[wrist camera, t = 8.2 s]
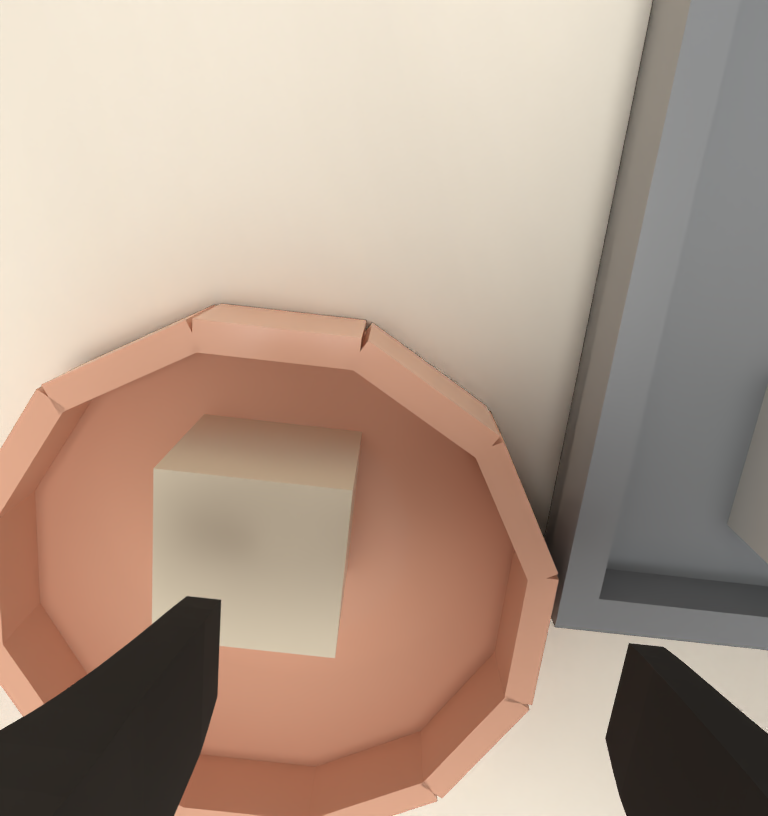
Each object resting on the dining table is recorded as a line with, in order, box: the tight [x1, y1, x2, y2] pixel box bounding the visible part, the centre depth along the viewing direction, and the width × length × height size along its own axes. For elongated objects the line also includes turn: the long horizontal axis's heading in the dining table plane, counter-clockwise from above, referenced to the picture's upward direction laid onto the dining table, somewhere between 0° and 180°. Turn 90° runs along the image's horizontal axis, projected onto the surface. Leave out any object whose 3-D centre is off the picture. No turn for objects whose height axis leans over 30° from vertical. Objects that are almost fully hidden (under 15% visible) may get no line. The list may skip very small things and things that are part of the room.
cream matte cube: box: [152, 414, 362, 658], centre depth 17 cm, size 4×4×4 cm
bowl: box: [0, 304, 559, 816], centre depth 19 cm, size 16×16×3 cm
